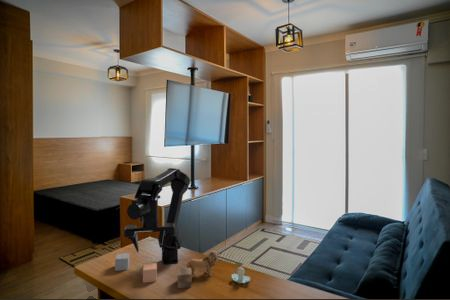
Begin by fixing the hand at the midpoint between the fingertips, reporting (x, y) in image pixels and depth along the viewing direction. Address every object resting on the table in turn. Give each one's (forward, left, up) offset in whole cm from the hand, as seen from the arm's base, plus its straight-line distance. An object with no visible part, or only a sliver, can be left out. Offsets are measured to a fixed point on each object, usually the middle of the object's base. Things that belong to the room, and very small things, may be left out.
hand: (150, 251), depth 106 cm
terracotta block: (0, 0, -11) cm, 11 cm away
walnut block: (-13, +6, -11) cm, 18 cm away
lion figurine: (-20, 0, -11) cm, 23 cm away
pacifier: (-35, +8, -11) cm, 38 cm away
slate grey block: (+12, -11, -11) cm, 20 cm away
